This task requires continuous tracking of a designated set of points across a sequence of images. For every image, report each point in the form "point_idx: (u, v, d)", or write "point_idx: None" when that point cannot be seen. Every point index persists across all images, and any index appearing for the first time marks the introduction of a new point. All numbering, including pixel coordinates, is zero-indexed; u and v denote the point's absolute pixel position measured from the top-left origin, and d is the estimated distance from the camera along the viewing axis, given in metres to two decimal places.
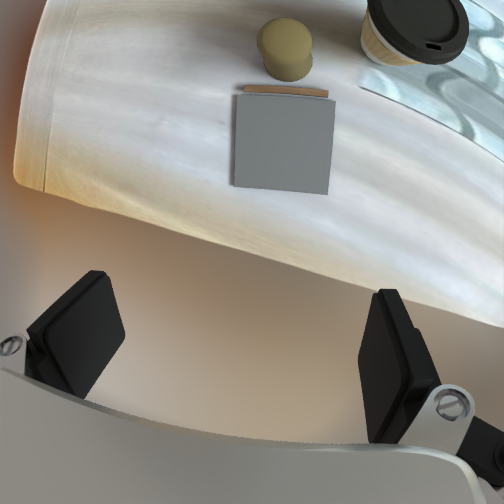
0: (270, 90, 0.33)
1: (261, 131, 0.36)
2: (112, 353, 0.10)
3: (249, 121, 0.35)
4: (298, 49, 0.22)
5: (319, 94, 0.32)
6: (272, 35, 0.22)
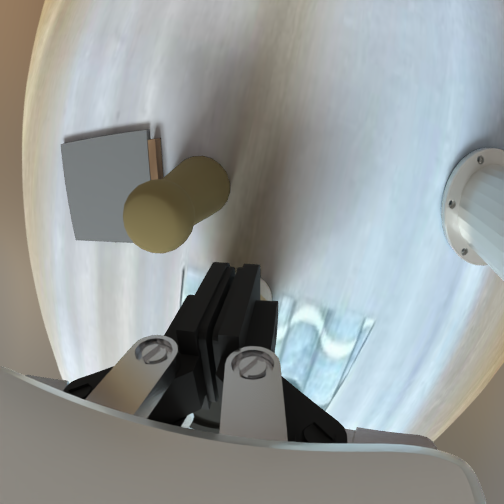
0: (152, 171, 0.28)
1: (111, 164, 0.29)
2: None
3: (119, 150, 0.28)
4: (137, 241, 0.20)
5: None
6: (147, 209, 0.19)
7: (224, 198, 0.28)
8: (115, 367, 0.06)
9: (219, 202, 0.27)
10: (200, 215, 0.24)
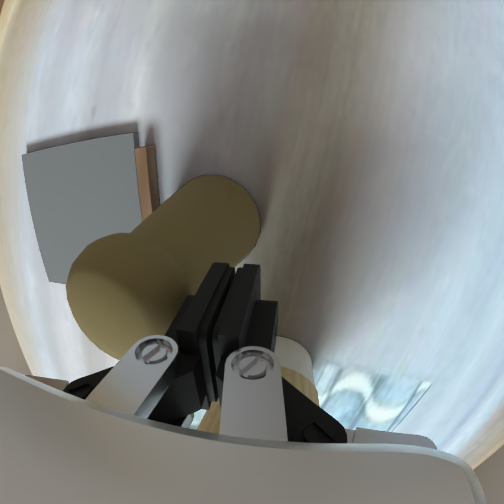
0: (142, 197, 0.18)
1: (85, 184, 0.19)
2: None
3: (94, 163, 0.18)
4: (93, 342, 0.11)
5: None
6: (96, 301, 0.09)
7: (251, 245, 0.18)
8: (115, 367, 0.06)
9: (241, 253, 0.17)
10: None
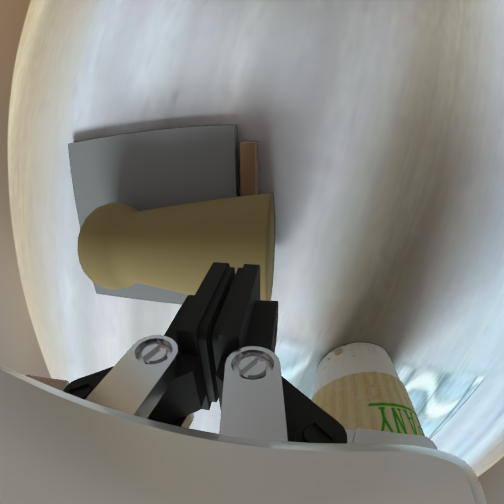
0: None
1: (162, 181, 0.18)
2: None
3: (177, 156, 0.17)
4: None
5: None
6: None
7: None
8: (115, 367, 0.06)
9: None
10: (153, 284, 0.16)
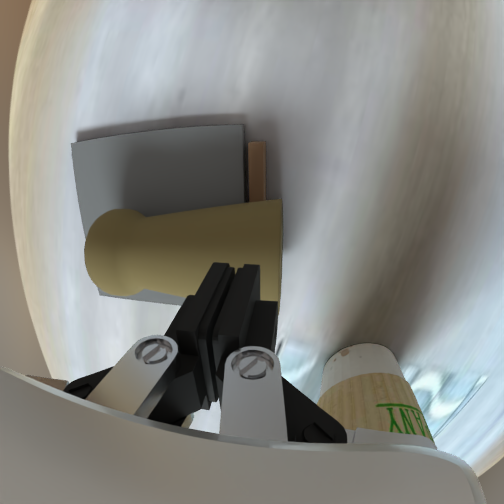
0: (253, 199, 0.17)
1: (168, 182, 0.18)
2: None
3: (184, 156, 0.17)
4: None
5: None
6: None
7: None
8: (115, 367, 0.06)
9: None
10: (164, 292, 0.16)
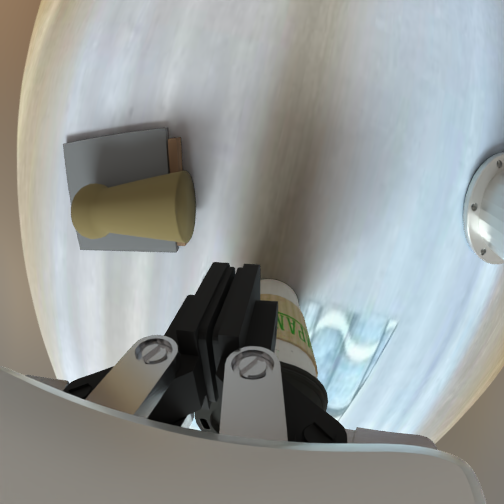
0: None
1: (123, 166, 0.26)
2: None
3: (132, 150, 0.26)
4: None
5: None
6: None
7: (167, 236, 0.24)
8: (115, 367, 0.06)
9: (154, 234, 0.24)
10: (117, 232, 0.25)
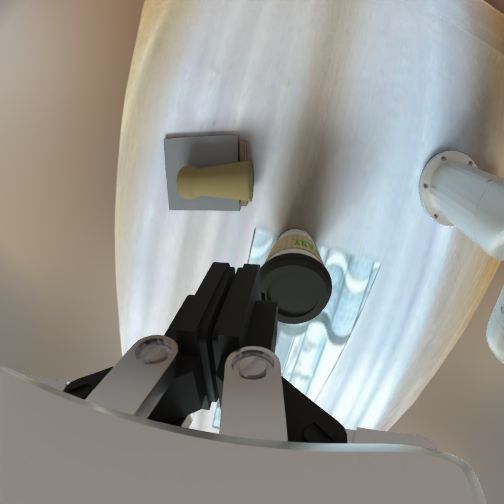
0: None
1: (208, 156, 0.45)
2: None
3: (215, 146, 0.45)
4: None
5: None
6: None
7: (241, 196, 0.42)
8: (115, 367, 0.06)
9: (233, 195, 0.43)
10: (208, 194, 0.44)
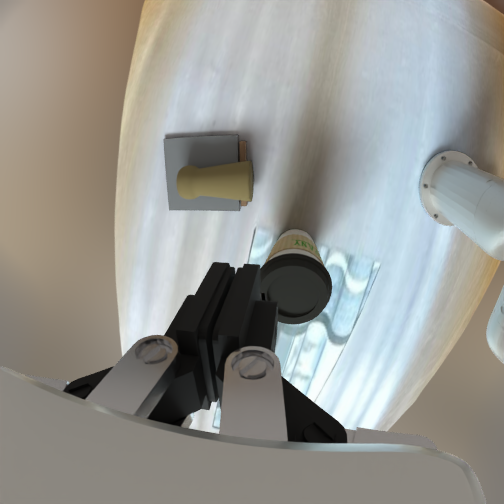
0: None
1: (208, 156, 0.45)
2: None
3: (215, 146, 0.44)
4: None
5: None
6: None
7: (241, 196, 0.42)
8: (115, 367, 0.06)
9: (233, 195, 0.43)
10: (208, 194, 0.44)
